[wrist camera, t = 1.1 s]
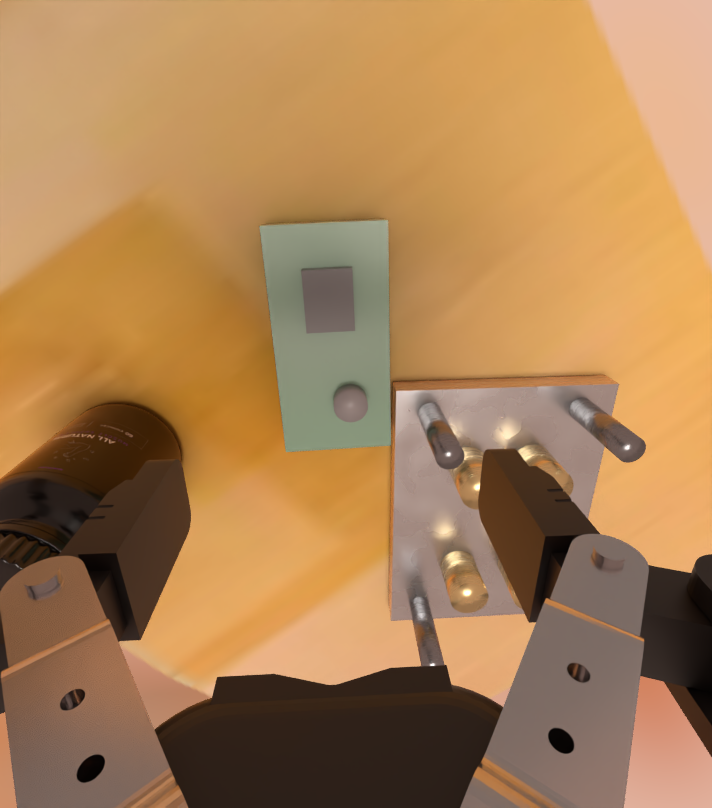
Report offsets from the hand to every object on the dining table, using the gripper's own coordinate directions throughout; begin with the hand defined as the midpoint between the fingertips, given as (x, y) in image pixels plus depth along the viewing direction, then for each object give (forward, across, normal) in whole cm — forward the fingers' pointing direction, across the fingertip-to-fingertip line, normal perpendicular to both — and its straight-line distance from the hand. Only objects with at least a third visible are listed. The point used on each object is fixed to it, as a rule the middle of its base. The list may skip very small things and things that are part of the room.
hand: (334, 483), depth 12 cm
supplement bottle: (+15, +13, +7) cm, 21 cm away
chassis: (+15, -10, +12) cm, 22 cm away
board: (+15, 0, 0) cm, 16 cm away
